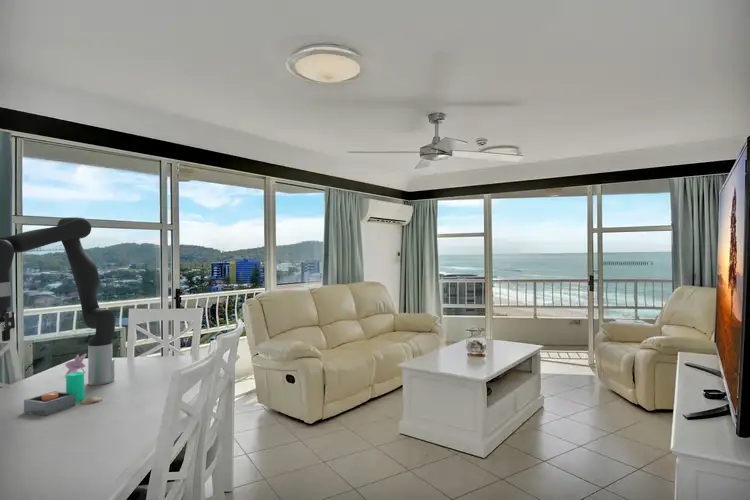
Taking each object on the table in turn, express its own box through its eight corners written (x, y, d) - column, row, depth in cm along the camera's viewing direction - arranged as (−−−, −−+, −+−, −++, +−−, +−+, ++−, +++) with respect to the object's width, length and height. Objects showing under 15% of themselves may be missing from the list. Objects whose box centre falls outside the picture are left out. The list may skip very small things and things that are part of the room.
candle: (74, 403, 168) (74, 372, 168) (62, 402, 169) (62, 371, 169) (88, 398, 173) (88, 368, 174) (75, 397, 175) (75, 367, 175)
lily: (65, 375, 212) (57, 360, 207) (92, 362, 218) (84, 347, 214) (70, 387, 203) (61, 372, 199) (98, 374, 210) (89, 359, 205)
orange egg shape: (52, 398, 165) (52, 391, 165) (61, 399, 163) (61, 392, 163) (38, 402, 160) (38, 395, 160) (47, 403, 158) (47, 396, 158)
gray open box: (54, 402, 168) (54, 391, 168) (75, 405, 165) (75, 393, 165) (23, 412, 158) (23, 400, 158) (45, 415, 155) (45, 403, 155)
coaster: (93, 397, 174) (93, 396, 174) (106, 399, 172) (106, 397, 172) (76, 403, 167) (76, 401, 167) (89, 405, 165) (89, 403, 165)
